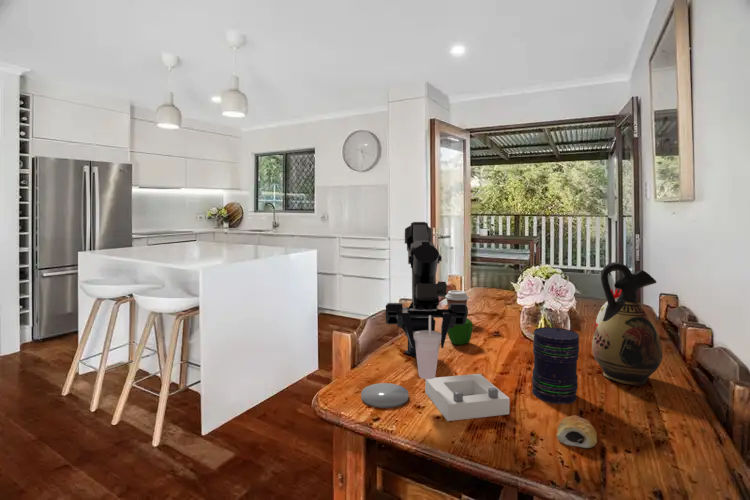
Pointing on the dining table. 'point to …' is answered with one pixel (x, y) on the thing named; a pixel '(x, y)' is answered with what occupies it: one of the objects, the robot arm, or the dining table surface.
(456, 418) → the holder
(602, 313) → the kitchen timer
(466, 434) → the dining table surface
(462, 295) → the coffee cup
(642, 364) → the ceramic jug
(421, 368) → the smoothie
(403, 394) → the coaster
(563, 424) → the pastry
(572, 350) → the storage jar
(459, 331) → the bell pepper
